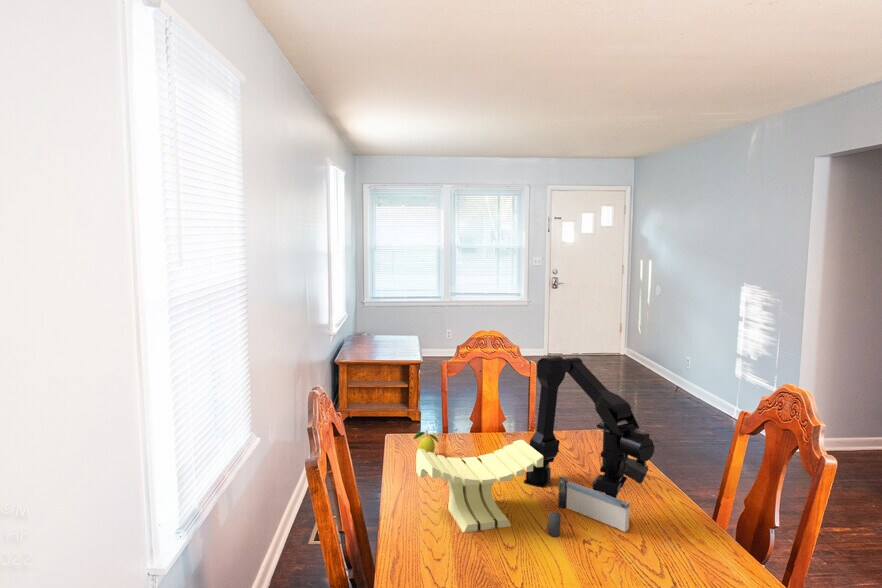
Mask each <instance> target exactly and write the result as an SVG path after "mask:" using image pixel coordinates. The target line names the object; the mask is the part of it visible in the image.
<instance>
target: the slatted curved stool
mask: <svg viewBox="0 0 882 588" xmlns="http://www.w3.org/2000/svg"><path fill="white" fill-rule="evenodd" d="M529 444H530V443H527V442H526V441H525V440H524V439H518V440H514V441H513V442H512V443H511V444H508V445H507V444H506V445H504V446H503V448H500V449H497V450H494V451H493V453H492V452H491V453H490V452H489V453H486V454H480V455H478V457H476V456H469V457H468V456H467V457H462V459H461V457H449V456H448V457H445V456H444V455H441V454H437V455H436V453H435V452H434V453H431V452H428V453H426V451H425V450H424V449H419V448H418V449H417V451H416V456H415V457H416V458H415V459H416V460H415V461H416V462H415V465H416V466H415V467H416V468H415V469H416V471H415V473H416V474H417V475H418V477H419V479H421V478H423V477H424V478H425V477H427V476H428V475H429V476H430V477H431V479H439V478H440V479H441V480H442V481H443V482H446V481H447V484H448V488H449V498H448V504H447V505H448V506H447V508H448V511H449V513H450V514H451V516H452V517H453V518H454V521H455V522H456V523H457V525H458V527H459V529H460V530H461V531H462V533H470V532H478V530H480V531H484V530H485V531H486V530H493V529H496V527H497V528H498V529H501V528H507V527H512V525H511V523H510V521H509V519H508V517H506V515H505V514H504V513H503V511H502V510H501V509H500V508H499V506H498V505H497V503H496V501H495V500H494V497H493V493H492V486H493V484H494V483H496V482H497V481H498V482H499V483H503V482H504V483H505V482H510V481H512V482H513V481H514V476H515V477H523V476H524V471H525V473H526V472H531V471H533V465H534V466H535V467H543V455H541V454H540V453H539V452H538V451H536V450H535V449H534V448H532V447H531V446H530V445H529Z"/></svg>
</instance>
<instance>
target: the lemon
mask: <svg viewBox="0 0 882 588" xmlns="http://www.w3.org/2000/svg"><path fill="white" fill-rule="evenodd" d="M425 433H426V435H425ZM424 435H425V436H424ZM422 436H423V437H422ZM420 437H422V438H421V439H420V440H419V443H418V449H424V450H425V451H426V453H428V452H431V453H434V454H435V450H436V445H435V441H436V442H437V443H439V439H438V438H437V436H435V435H434V434H428V430H426V431H418V432H417V433H416V434H415V435H414V437H413V440H416V439H418V438H420Z"/></svg>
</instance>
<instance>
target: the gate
mask: <svg viewBox="0 0 882 588" xmlns="http://www.w3.org/2000/svg"><path fill="white" fill-rule="evenodd" d="M566 487H567V502H566V508H565V509H568V510H571V511H574V512H576V513H579V514H581V515H583V516H586V517H588V518H591V519H593V520H596V521H598V522H601V523H604V524H606V525H609V526H610V527H613V528H616V529H618V530H619V531H622V532H624V533H625V532H627V531H628V530H629V524H630V523H629V521H630V508H631V507H630V502H627V501H624V500H623V499H620V498H618V497H617V498H614V497H612V496H609V495H606V494H605V493H604V492H599V491H595V490H593V488H588V487H587V486H583V485H580V484H578V483H576V482H572V481H568V483H567V486H566Z"/></svg>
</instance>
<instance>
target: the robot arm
mask: <svg viewBox="0 0 882 588" xmlns="http://www.w3.org/2000/svg"><path fill="white" fill-rule="evenodd" d="M566 373H567V374H569V376H570V377H571V378H572V379H573V380H574V381H575V383H576V384H578V386H579V387H580V388H581V389H582V390H583V392H584V393H585V394H586V395H587V396H588V397H589V398H590V400H591V401H592V402H593V403H594V409H595V412H596V413H597V415H598V416H599V418H600V419H601V422H599V423H598V424H596V428H598V429H600V430H602V450H601V452H600V457H601V458H602V460H601V461H602V463H601V467H599V471H600V473H603V474H599V475H597V476H596V477H595V478H594V479H593V481H592V490H595V491H598V492H600V493H603V494H606V495H609V496H612V497H614V498H617V499H618V494H619V492H620V491H621V489H622V488H623V486H624V484H625V483H626V481H627V479H628V478H630V479H632V480H633V481H635V482H636V483H637V484H643V482H644V481H645V478H646V475H647V473H648V471H649V465H647V462H648V461H649V460H651V458H652V457H653V455H654V452H655V445H654V441H653V440H652V439H651V438H650V433H648V432H645V431H640V430H639V429H640V426H639V423H638V421H637V420H636V417H635V415H634V413H633V411H632V406H631V405H630V404H629V402H628V401H626V400H625V399H624V398H623V397H621V396H620V395H618V394H616V393H614V392H612V391H610V390H609V389H607V388H606V387H605V386H604V384H602V382H601V381H600V380H599V379H598V378H597V377H596V376H595V374H593V373H592V372H591V370H590V369H589V368H588V367H587V366H586V365H585V364H584V362H583V360H582V359H581V358H579V357H578V356H577V357H567V358H563V357H561V356H560V355H554V356H549V357H542V358H540V359H538V361H537V364H536V377H537V379H538V381H539V384H540V393H539V401H538V402H539V404H538V414H537V422H536V430H535V432H534V433H533V435H532V437H530V440H529V443H528V444H529V445H530V446H531V447H532V448H534V449H535V450H536V451H538V452H539V453H540V454H541V455H543V467H535V466H534V465H533V471H531V472H526V471H525V479H524V480H523V483H524V484H528V485H532V486H537V487H540V488H545V487H546V486H547V485H548V484H549V483H550V481H551V475H552V474H551V473H552V472H551V471H552V469H551V467H550V463H554V460H555V458H556V457H557V455H558V453H559V452H560V450H559V449H560V448H559V446H560V439H557V437H556V435H555V434H554V431H555V430H554V429H555V428H554V427H555V420H556V419H555V418H556V410H557V401H558V393H559V387H560V386H561V384H562V382H563V381H564V379H565V376H566ZM620 423H621V424H620ZM618 424H619V425H618Z"/></svg>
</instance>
